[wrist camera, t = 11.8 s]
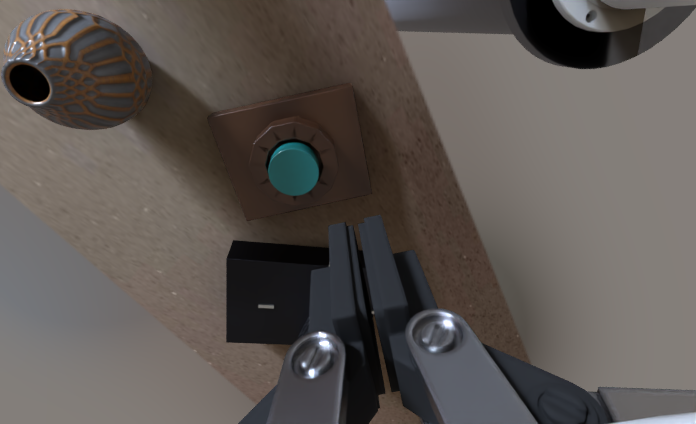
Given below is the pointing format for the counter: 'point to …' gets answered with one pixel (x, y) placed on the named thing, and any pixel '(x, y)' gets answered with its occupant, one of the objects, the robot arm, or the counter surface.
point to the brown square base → (293, 126)
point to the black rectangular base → (272, 290)
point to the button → (294, 169)
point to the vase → (76, 69)
